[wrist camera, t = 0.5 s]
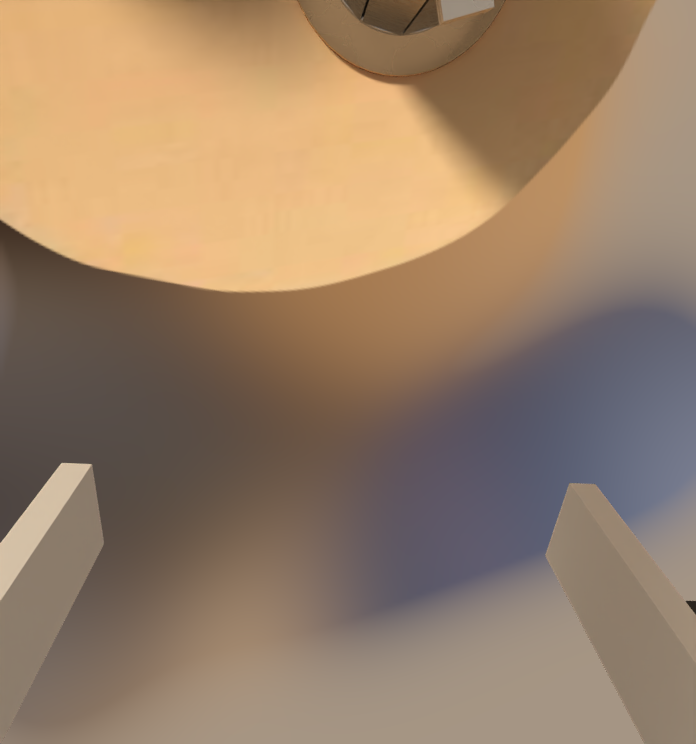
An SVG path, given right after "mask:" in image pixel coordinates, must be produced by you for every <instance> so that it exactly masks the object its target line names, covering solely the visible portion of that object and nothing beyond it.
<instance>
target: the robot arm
mask: <svg viewBox="0 0 696 744" xmlns="http://www.w3.org/2000/svg"><path fill="white" fill-rule="evenodd" d="M103 544H104V541H103V534H102V527H101V521H100V514H99V509H98V501H97V495H96V488H95V482H94V475H93V469H92V464H73V463H61V465H60V466H59V467H58V469H57V470H56V471H55V472H54V474H53V475H52V476H51V478H50V479H49V480H48V482H47V483H46V484H45V485H44V487H43V488H42V489H41V491H40V492H39V493H38V495H37V496H36V497H35V499H34V500H33V501H32V503H31V504H30V505H29V506H28V508H27V509H26V511H25V512H24V513H23V515H22V516H21V517H20V518H19V520H18V521H17V522H16V524H15V525H14V526H13V528H12V529H11V530H10V532H9V533H8V534H7V536H6V537H5V538H4V539H3V541H2V542H1V543H0V744H1V743H2V741H3V739H4V737H5V735H6V733H7V731H8V729H9V727H10V725H11V724H12V722H13V720H14V718H15V716H16V714H17V712H18V710H19V708H20V706H21V704H22V702H23V700H24V698H25V696H26V694H27V693H28V691H29V689H30V687H31V685H32V683H33V681H34V679H35V677H36V675H37V673H38V671H39V669H40V667H41V665H42V663H43V661H44V659H45V657H46V655H47V654H48V652H49V650H50V648H51V646H52V644H53V642H54V640H55V638H56V636H57V634H58V632H59V630H60V628H61V626H62V624H63V622H64V620H65V619H66V616H67V615H68V613H69V611H70V609H71V607H72V605H73V603H74V601H75V599H76V597H77V595H78V593H79V591H80V589H81V587H82V585H83V583H84V582H85V579H86V578H87V576H88V574H89V572H90V570H91V568H92V566H93V564H94V562H95V560H96V558H97V556H98V554H99V552H100V550H101V548H102V546H103ZM545 556H546V558H547V560H548V562H549V563H550V565H551V567H552V569H553V571H554V573H555V575H556V577H557V579H558V581H559V583H560V584H561V586H562V588H563V590H564V592H565V594H566V596H567V598H568V600H569V602H570V603H571V605H572V607H573V609H574V611H575V613H576V615H577V617H578V619H579V621H580V622H581V624H582V626H583V628H584V630H585V632H586V634H587V636H588V638H589V640H590V641H591V643H592V645H593V647H594V649H595V651H596V653H597V655H598V657H599V659H600V660H601V662H602V664H603V666H604V668H605V670H606V672H607V673H608V676H609V678H610V679H611V681H612V683H613V685H614V687H615V689H616V691H617V693H618V695H619V696H620V698H621V700H622V702H623V704H624V706H625V708H626V710H627V712H628V714H629V716H630V717H631V719H632V721H633V723H634V725H635V727H636V729H637V731H638V732H639V735H640V736H641V738H642V740H643V742H644V744H696V601H685V600H684V599H683V598H682V596H681V595H680V594H679V593H678V591H677V590H676V589H675V587H674V586H673V585H672V583H671V582H670V581H669V579H668V578H667V577H666V575H665V574H664V573H663V572H662V570H661V569H660V568H659V567H658V565H657V564H656V563H655V561H654V560H653V559H652V557H651V556H650V555H649V553H648V552H647V551H646V550H645V548H644V547H643V546H642V544H641V543H640V542H639V540H638V539H637V538H636V537H635V535H634V534H633V533H632V531H631V530H630V529H629V527H628V526H627V525H626V524H625V522H624V521H623V520H622V518H621V517H620V516H619V514H618V513H617V512H616V511H615V509H614V508H613V507H612V506H611V504H610V503H609V501H608V500H607V499H606V498H605V496H604V495H603V494H602V493H601V491H600V490H599V488H598V487H597V486H596V485H595V484H578V483H576V484H575V483H569V486H568V489H567V493H566V495H565V498H564V501H563V504H562V507H561V511H560V513H559V516H558V519H557V522H556V526H555V528H554V531H553V534H552V537H551V540H550V543H549V546H548V549H547V552H546V555H545Z"/></svg>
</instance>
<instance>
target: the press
mask: <svg viewBox="0 0 696 744" xmlns="http://www.w3.org/2000/svg"><path fill="white" fill-rule="evenodd" d="M504 1H505V0H298V2H299V4H300V7H301V9H302V11H303V13H304V14H305V16H306V18H307V20H308V21H309V23H310V25H311V26H312V27H313V29H314V30H315V31H316V33H317V34H318V35H319V37H320V38H321V39H322V40H323V41H324V42H325V43H326V44H327V45H328V46H329V47H330V48H331V49H332V50H333V51H334V52H335V53H337V54H338V55H339V56H340V57H342V58H343V59H344V60H346V61H348V62H350V63H351V64H353V65H355V66H356V67H359V68H361V69H364V70H366V71H368V72H372V73H376V74H380V75H386V76H396V77H398V76H412V75H417V74H422V73H426V72H429V71H431V70H434V69H437V68H439V67H441V66H443V65H445V64H447V63H449V62H451V61H452V60H454V59H455V58H457V57H458V56H460V55H461V54H462V53H464V52H465V51H466V50H468V49H469V48H470V47H471V46H472V45H473V44H474V43H475V42H476V41H477V40H478V39H479V38H480V37H481V36H482V35H483V33H484V32H485V31H486V30H487V29H488V28H489V26H490V25H491V23H492V22H493V20H494V19H495V17H496V16H497V14H498V13H499V11H500V9H501V7H502V5H503V3H504Z"/></svg>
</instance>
